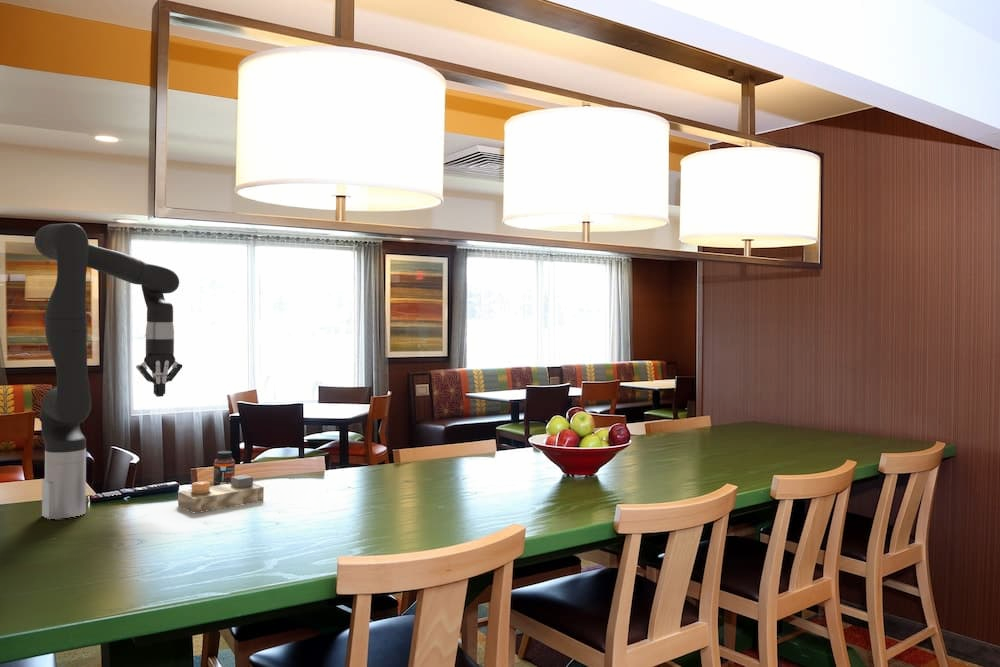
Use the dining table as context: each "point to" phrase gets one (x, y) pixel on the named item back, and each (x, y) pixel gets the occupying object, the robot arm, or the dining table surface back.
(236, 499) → the mount
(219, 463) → the supplement bottle
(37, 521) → the dining table surface
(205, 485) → the round knob
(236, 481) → the square knob
